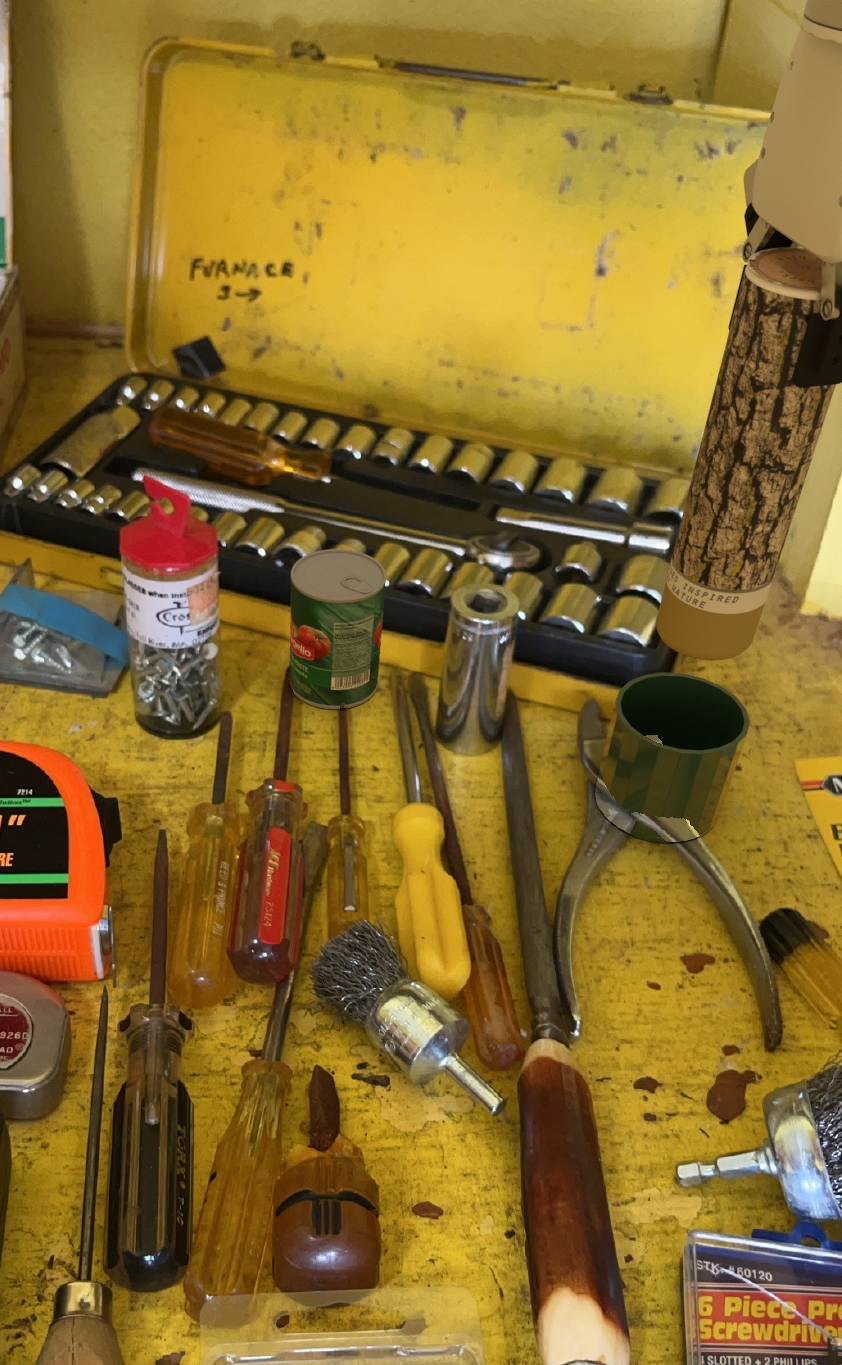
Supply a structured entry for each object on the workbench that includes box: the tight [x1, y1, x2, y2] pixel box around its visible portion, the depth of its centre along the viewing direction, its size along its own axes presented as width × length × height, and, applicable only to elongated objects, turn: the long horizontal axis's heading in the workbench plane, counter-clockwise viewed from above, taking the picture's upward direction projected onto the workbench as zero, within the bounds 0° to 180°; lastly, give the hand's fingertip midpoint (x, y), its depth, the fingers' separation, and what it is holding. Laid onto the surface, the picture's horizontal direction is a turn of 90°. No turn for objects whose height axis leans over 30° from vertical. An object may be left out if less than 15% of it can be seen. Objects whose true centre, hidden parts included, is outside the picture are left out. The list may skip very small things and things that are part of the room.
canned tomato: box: [289, 548, 387, 710], centre depth 107 cm, size 8×8×11 cm
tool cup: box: [600, 672, 751, 844], centre depth 97 cm, size 10×10×9 cm
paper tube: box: [655, 247, 837, 662], centre depth 80 cm, size 7×7×25 cm
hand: (784, 354), depth 75 cm, fingers closed on paper tube, 6 cm apart
